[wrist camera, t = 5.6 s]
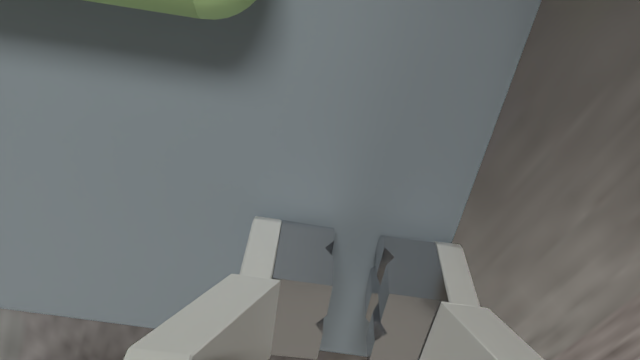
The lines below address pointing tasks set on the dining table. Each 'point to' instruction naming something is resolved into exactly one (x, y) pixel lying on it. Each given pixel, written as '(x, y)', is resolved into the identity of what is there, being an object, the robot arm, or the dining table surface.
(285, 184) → the tilted grey plate
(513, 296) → the dining table surface
